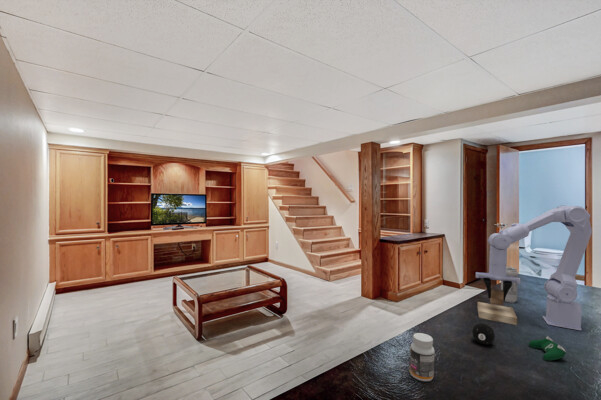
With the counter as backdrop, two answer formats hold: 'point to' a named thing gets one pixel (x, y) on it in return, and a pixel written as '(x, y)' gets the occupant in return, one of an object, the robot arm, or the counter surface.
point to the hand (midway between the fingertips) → (496, 298)
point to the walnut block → (496, 296)
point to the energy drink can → (512, 292)
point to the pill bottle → (422, 357)
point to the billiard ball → (483, 333)
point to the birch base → (496, 313)
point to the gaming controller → (548, 348)
